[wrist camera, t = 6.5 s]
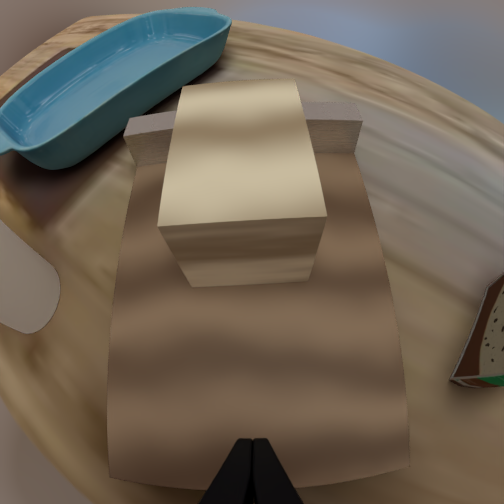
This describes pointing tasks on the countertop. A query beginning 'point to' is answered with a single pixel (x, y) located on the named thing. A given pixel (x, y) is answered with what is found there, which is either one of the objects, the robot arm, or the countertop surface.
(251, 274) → the maple block
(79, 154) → the casserole dish
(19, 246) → the cylindrical container
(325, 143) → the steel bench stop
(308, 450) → the walnut board
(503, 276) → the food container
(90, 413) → the countertop surface
